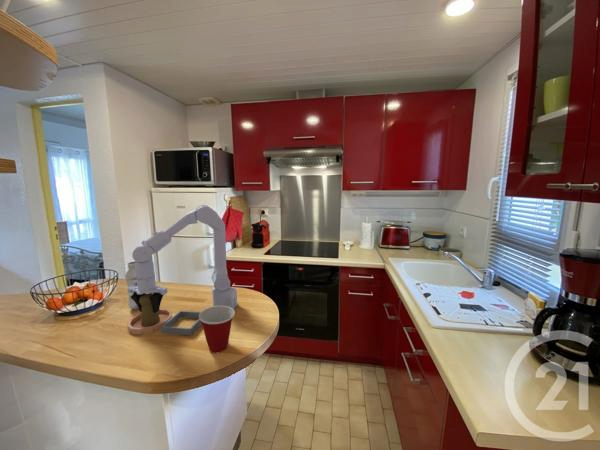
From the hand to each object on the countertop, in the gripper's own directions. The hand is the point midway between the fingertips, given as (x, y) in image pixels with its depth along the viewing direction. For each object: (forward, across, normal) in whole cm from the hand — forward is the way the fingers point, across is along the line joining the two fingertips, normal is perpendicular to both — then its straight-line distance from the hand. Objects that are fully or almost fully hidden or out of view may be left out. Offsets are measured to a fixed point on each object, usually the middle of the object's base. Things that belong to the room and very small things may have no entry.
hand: (149, 311), depth 90 cm
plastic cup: (+5, +32, -10) cm, 34 cm away
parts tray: (+5, +14, 0) cm, 15 cm away
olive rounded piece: (+4, 0, 0) cm, 5 cm away
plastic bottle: (+5, -14, +10) cm, 18 cm away
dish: (+5, 0, 0) cm, 5 cm away
